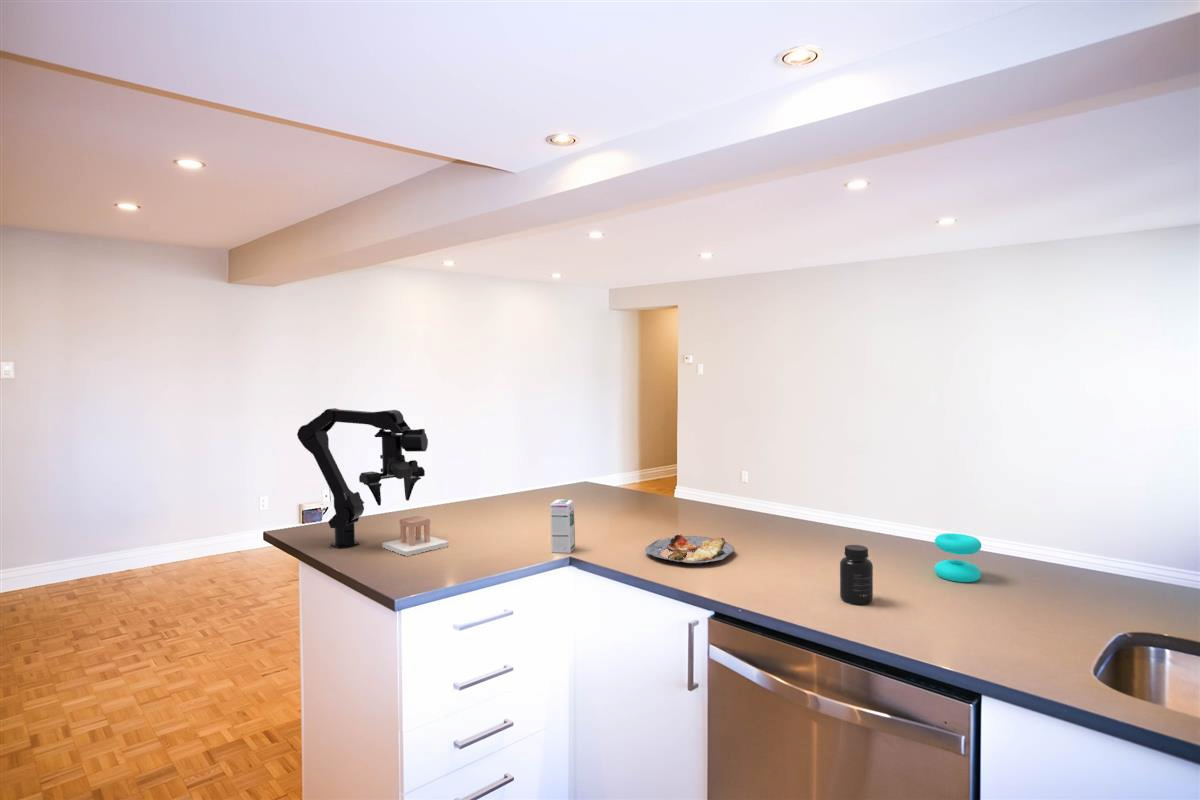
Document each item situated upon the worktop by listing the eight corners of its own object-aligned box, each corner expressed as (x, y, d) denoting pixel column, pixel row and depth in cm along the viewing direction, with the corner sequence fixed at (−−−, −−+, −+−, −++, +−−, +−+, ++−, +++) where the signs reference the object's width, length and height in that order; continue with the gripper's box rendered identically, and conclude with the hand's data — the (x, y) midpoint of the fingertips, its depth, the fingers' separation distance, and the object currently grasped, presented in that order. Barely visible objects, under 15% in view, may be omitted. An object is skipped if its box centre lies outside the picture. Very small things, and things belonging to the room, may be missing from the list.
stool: (411, 546, 187) (410, 522, 187) (400, 542, 191) (399, 519, 191) (430, 542, 191) (429, 518, 191) (419, 538, 196) (418, 515, 196)
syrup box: (570, 553, 182) (569, 503, 182) (550, 552, 184) (549, 502, 183) (575, 548, 188) (574, 499, 187) (556, 547, 189) (555, 498, 189)
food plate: (671, 538, 197) (670, 527, 197) (744, 549, 185) (744, 537, 185) (633, 562, 175) (633, 549, 175) (713, 575, 164) (713, 562, 163)
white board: (382, 547, 191) (382, 543, 191) (424, 538, 201) (423, 534, 201) (406, 556, 182) (406, 551, 181) (448, 546, 192) (448, 541, 192)
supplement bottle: (834, 595, 146) (834, 543, 145) (863, 594, 146) (863, 542, 146) (848, 606, 139) (848, 552, 138) (878, 605, 139) (879, 550, 139)
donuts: (990, 542, 152) (947, 542, 152) (989, 583, 152) (947, 584, 152) (967, 531, 162) (927, 532, 162) (967, 570, 162) (927, 571, 162)
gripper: (375, 457, 181) (377, 511, 181) (433, 450, 194) (435, 501, 195) (357, 454, 188) (359, 506, 189) (414, 448, 202) (416, 496, 202)
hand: (393, 502), depth 194 cm, fingers open, 9 cm apart
